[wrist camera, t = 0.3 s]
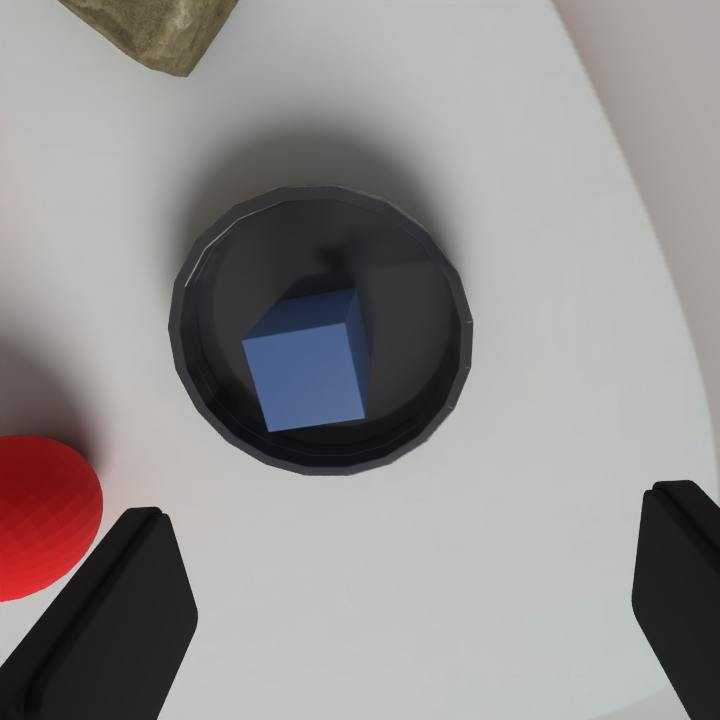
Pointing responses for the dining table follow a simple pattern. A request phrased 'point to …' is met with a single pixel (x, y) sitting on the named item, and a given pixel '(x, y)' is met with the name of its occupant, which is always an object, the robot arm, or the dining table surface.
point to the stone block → (157, 28)
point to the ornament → (43, 512)
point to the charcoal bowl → (314, 276)
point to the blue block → (310, 360)
